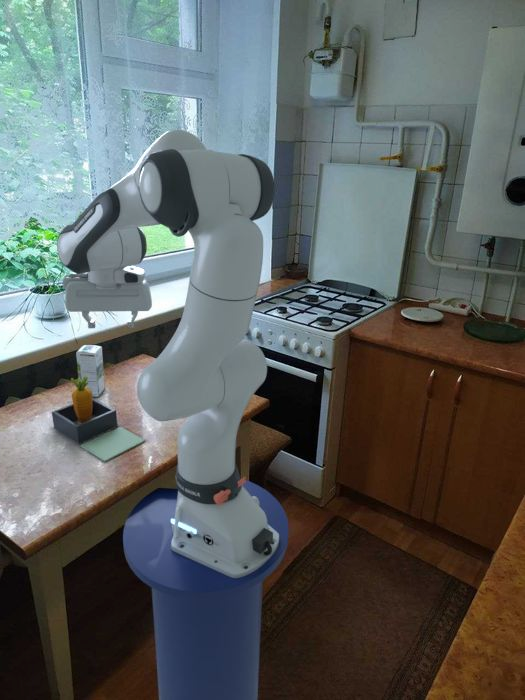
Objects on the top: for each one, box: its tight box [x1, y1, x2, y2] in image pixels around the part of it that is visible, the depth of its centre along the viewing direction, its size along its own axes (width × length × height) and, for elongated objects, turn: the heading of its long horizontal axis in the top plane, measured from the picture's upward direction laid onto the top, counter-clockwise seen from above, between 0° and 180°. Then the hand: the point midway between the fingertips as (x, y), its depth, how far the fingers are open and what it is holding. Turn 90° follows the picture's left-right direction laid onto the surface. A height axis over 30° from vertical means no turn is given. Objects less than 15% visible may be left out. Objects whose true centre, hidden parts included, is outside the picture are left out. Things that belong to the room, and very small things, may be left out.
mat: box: [80, 426, 146, 463], centre depth 125 cm, size 10×12×1 cm
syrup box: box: [75, 344, 106, 398], centre depth 148 cm, size 6×6×14 cm
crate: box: [51, 397, 118, 445], centre depth 131 cm, size 12×12×5 cm
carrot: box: [70, 376, 93, 424], centre depth 129 cm, size 5×5×15 cm
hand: (111, 327), depth 123 cm, fingers open, 8 cm apart
